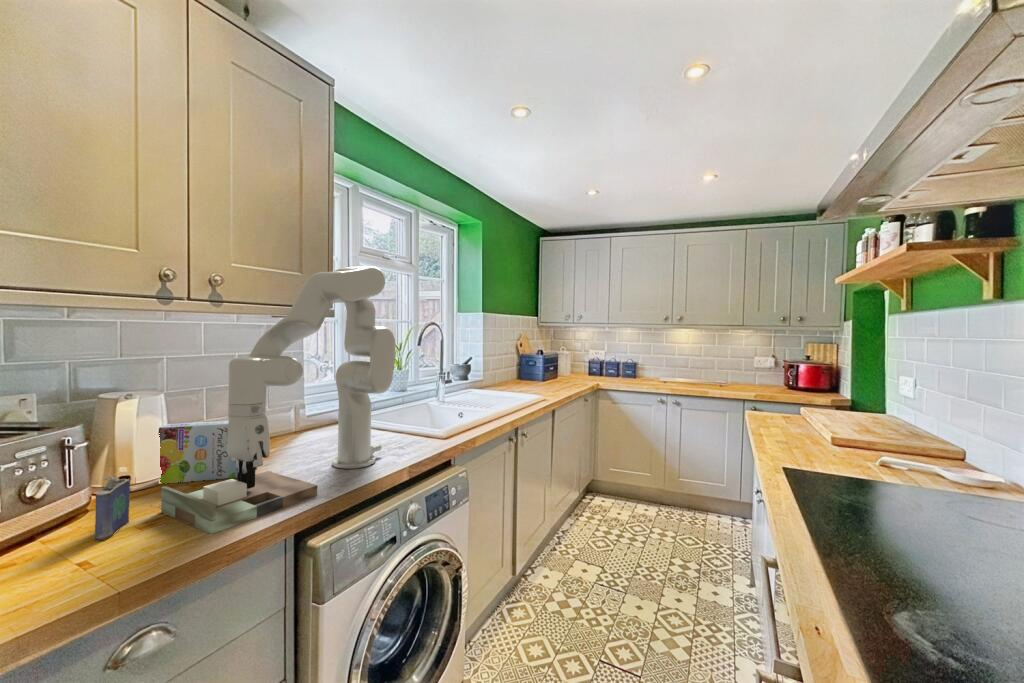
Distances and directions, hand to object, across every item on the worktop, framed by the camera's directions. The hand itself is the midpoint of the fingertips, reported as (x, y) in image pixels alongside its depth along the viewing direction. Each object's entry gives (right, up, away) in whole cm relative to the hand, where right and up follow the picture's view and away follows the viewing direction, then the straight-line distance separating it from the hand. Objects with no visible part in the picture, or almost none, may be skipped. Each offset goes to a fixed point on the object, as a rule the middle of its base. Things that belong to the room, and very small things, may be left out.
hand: (246, 488), depth 100 cm
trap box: (0, -3, 0) cm, 3 cm away
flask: (-17, -4, -15) cm, 23 cm away
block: (-2, -1, -4) cm, 5 cm away
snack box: (-20, -3, +16) cm, 26 cm away
